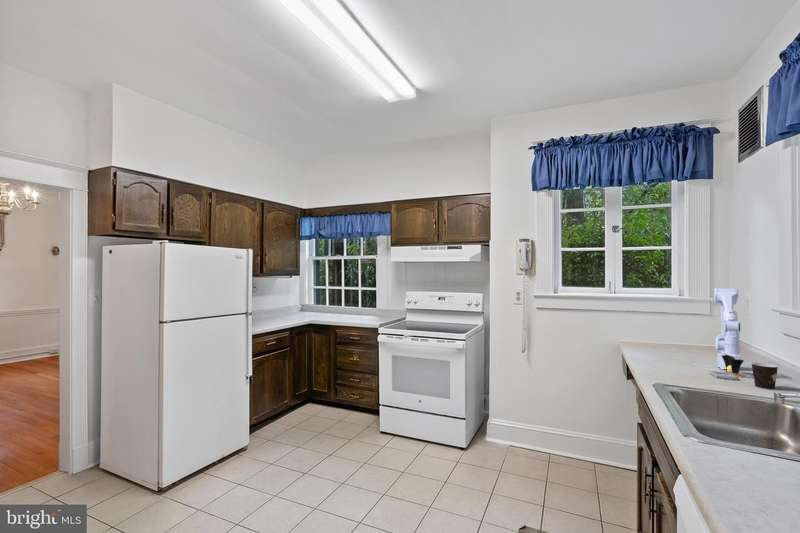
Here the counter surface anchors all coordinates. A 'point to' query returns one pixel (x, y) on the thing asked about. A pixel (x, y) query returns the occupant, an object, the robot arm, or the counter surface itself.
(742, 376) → the dish
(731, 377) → the tray
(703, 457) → the counter surface
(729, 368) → the ball
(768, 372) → the coffee mug
